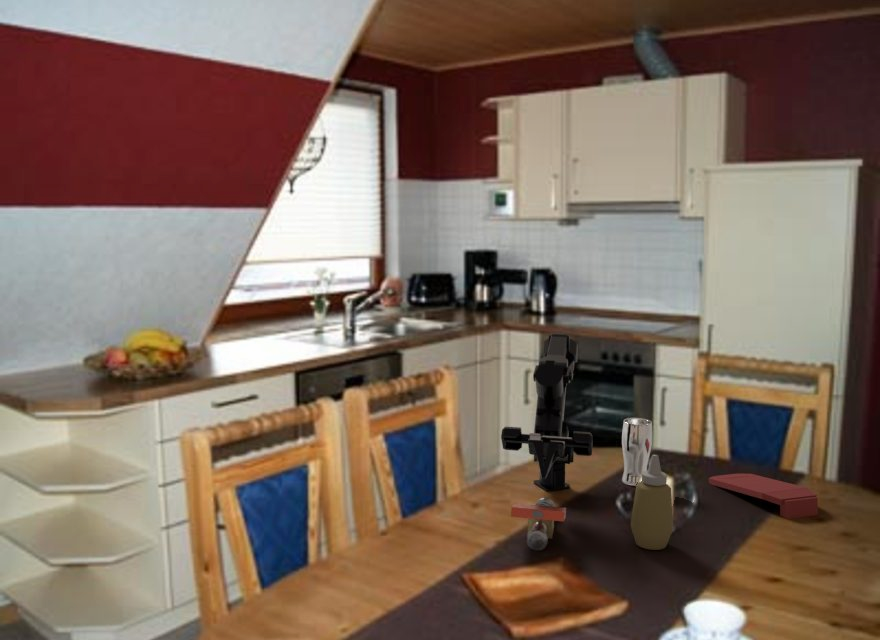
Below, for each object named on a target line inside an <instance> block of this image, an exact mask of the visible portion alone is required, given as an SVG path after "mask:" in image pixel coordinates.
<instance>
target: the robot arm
mask: <svg viewBox="0 0 880 640" xmlns="http://www.w3.org/2000/svg"><path fill="white" fill-rule="evenodd" d="M542 348H543V349H542V357H541V358H540V359H539V362H538V365H537V364H536V365H535V368H534V372H533V382H535V391H536V394H537V400H536V410H535V419H534V429H533V432H529V434H528V433H522V427H521V426H520V427H516V426H504V427H503V428H502V429H501V435H500V439H501V445H502V449H503V450H506V451H514V452H515V451H519V450H522V448H523V444H525V445H527V446H528V453H529V454H530V455H533V462H537V464H538V468H539V479H535V480H533V483H534V484H535V485H537V486H538V487H540V488H542V489H543V490H544V491H546V492H547V491H548V492H550V491H556V490H557V491H558V490H562V489H563V490H564V489H569V488H571V485H570V484H568V483H567V482H566V464H567V465H570V464H571V463H574V461H575V460H574V458H575V457H574V456H575V455H577V456H583V457H584V456H585V457H590V456H593V435H592V433H591V432H589V431H575V430H574V431H573V432H572V433H573V434H572V436H571V437H569V428H568V424H567V422H566V421H564V417H565V405H566V404H565V403H566V393H567V385H568V384H570V383H571V382H572V381H573V377H574V370H575V363H577V362H578V354H579V353H578V352H579V351H578V350H579V349H578V348H579V347H578V342H576V341H574V340H573V339H572V338H571V335H570V334H567V333H557V332H556V333H553V332H552V333H549V334H548V338H546V339H545V340H544V341H543V347H542ZM574 454H575V455H574Z"/></svg>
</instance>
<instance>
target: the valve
mask: <svg viewBox="0 0 880 640" xmlns="http://www.w3.org/2000/svg"><path fill="white" fill-rule="evenodd" d="M536 503H538V504H548V506H550V507H556V506H555V503H554V501H553V500H552V499H550V498H549V497H541V498H538V499H537V501H536V502H535V504H536ZM554 528H555V521H553V520H542V519H531V518H527V536H526V544H527V546H528V547H529V548H530V549H531V550H533V551H537V552H538V551H543V550H544V549H545V548H546V546H547V545H548V541H549V539H551V540H552V539H553V534H554V530H555V529H554Z"/></svg>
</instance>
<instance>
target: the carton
mask: <svg viewBox="0 0 880 640" xmlns="http://www.w3.org/2000/svg"><path fill="white" fill-rule="evenodd" d="M708 483H709V484H710V485H713V486H716V487H719V488H722V489H725V490H729V491H733V492H736V493H740V494H743V495H746V496H750V497H754V498H757V499H761V500H764V501H767V502H769V503H773V504H776V505H778V506H779V514H780V517H783V518H784V519H786V520H790V519H797V518H804V517H812V516H818V515H819V509H818V508H819V507H818V506H819V505H818V504H819V503H818V497H817V494H816V493H815V492H813V491H812V490H811V489H810V488H809V487H804V486H802V485H798V484H794V483H790V482H789V483H788V482H785V481H781V480H778V479H773V478H769V477H765V476H761V475H758V474H754V473H739V472H738V473H730V474H721V475H714V476H711V477H708Z"/></svg>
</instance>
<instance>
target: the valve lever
mask: <svg viewBox="0 0 880 640" xmlns="http://www.w3.org/2000/svg"><path fill="white" fill-rule="evenodd" d="M510 509H511V510H510V517H511V518H522V519H528V518H531V519H542V520H553V521H554V522H565V520H566V519H567V517H566V516H567V507H560V506H555V507H550V506H548V504H538V503H536V502H535V504H527V503H525V504H524V503H514V504H513V505H512V506H511V508H510Z"/></svg>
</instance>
